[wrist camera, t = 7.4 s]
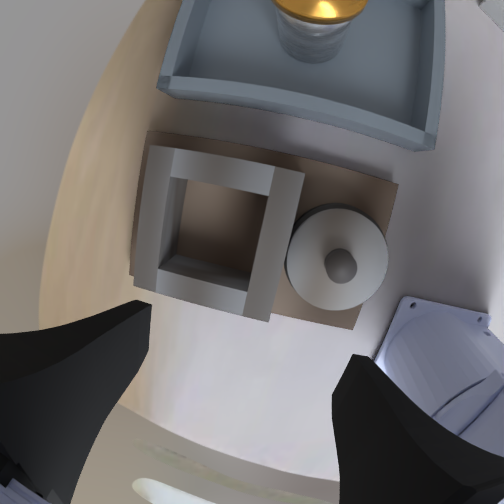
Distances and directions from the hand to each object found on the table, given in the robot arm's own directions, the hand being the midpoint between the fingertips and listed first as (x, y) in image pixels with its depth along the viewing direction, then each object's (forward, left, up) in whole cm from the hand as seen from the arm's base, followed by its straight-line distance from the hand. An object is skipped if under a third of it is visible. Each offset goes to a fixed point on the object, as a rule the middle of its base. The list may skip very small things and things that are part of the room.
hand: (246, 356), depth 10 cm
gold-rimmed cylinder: (0, -15, -10) cm, 18 cm away
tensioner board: (+1, -2, -10) cm, 11 cm away
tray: (0, -16, -10) cm, 19 cm away
